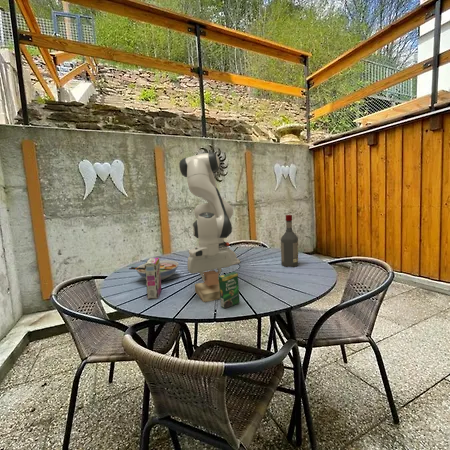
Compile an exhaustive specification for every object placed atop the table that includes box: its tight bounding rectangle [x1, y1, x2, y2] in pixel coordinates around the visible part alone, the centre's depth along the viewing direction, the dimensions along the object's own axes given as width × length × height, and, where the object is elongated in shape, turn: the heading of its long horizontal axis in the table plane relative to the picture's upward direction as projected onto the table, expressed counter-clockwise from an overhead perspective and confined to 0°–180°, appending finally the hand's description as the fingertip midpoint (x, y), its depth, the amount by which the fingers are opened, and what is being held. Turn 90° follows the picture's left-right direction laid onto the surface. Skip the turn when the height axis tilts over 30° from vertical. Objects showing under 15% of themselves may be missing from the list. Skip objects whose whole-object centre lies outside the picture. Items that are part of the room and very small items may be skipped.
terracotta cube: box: [203, 269, 219, 286], centre depth 120 cm, size 5×5×5 cm
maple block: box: [194, 279, 220, 303], centre depth 121 cm, size 12×14×4 cm
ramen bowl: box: [128, 259, 180, 281], centre depth 146 cm, size 25×23×8 cm
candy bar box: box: [144, 257, 162, 300], centre depth 123 cm, size 11×5×16 cm, turn 5°
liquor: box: [280, 214, 299, 268], centre depth 157 cm, size 9×9×30 cm
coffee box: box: [218, 271, 241, 310], centre depth 107 cm, size 8×3×13 cm, turn 123°
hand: (210, 279), depth 120 cm, fingers closed on terracotta cube, 5 cm apart
